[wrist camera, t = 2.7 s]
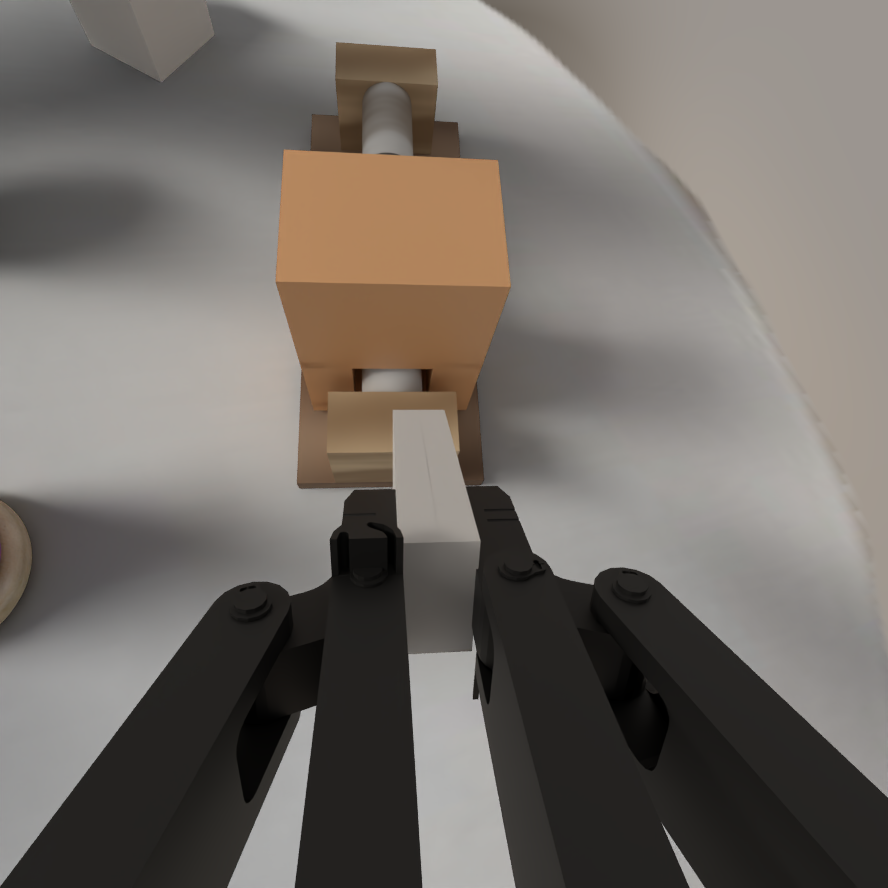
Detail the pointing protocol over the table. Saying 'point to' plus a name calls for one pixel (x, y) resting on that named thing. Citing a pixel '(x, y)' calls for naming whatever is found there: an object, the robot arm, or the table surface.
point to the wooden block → (391, 267)
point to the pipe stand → (383, 390)
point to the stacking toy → (12, 559)
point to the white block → (146, 31)
